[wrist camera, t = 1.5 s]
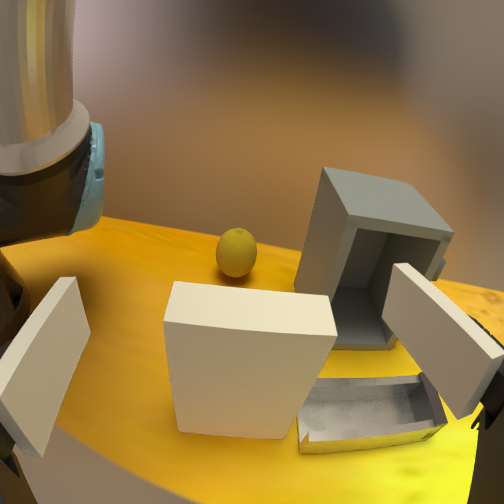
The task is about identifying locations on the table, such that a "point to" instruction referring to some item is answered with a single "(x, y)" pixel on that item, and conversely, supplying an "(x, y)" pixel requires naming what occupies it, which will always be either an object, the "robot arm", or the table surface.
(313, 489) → the table surface
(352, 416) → the drawer
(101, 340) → the table surface
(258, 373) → the door
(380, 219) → the cabinet
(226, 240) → the lemon
